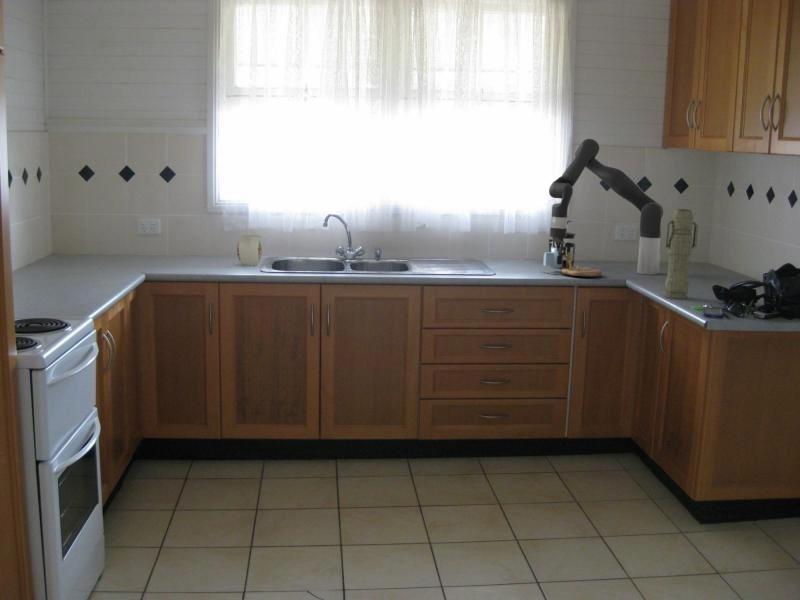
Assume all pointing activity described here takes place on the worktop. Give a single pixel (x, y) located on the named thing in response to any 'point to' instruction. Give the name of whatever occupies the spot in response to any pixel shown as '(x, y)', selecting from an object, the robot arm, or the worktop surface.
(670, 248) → the thermos
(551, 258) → the pale blue carafe
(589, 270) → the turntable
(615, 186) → the robot arm
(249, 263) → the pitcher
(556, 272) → the slate mat
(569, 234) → the french press
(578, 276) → the turntable base
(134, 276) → the worktop surface
